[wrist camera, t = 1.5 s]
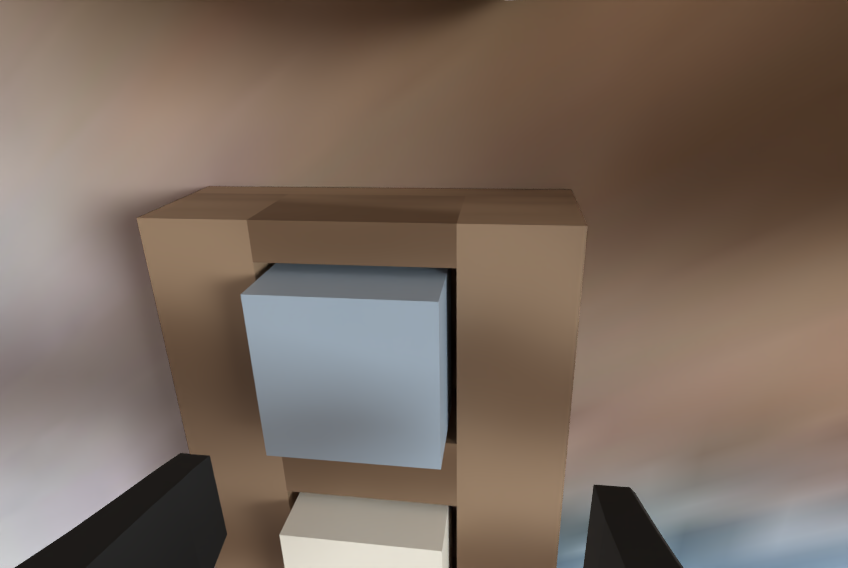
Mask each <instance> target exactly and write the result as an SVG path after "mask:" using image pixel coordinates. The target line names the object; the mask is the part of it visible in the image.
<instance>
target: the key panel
mask: <svg viewBox="0 0 848 568" xmlns="http://www.w3.org/2000/svg"><path fill="white" fill-rule="evenodd" d="M137 223H138V227H139V232H140V236H141V240H142V245H143V249H144V254H145V258H146V263H147V267H148V271H149V276H150V280H151V285H152V289H153V293H154V298H155V302H156V307H157V311H158V316H159V320H160V324H161V329H162V333H163V338H164V342H165V347H166V351H167V355H168V360H169V364H170V369H171V373H172V377H173V382H174V386H175V391H176V395H177V400H178V404H179V408H180V413H181V417H182V422H183V426H184V430H185V435H186V439H187V444H188V448H189V453H190V454H197V455H210V458H211V463H212V467H213V472H214V476H215V481H216V485H217V490H218V495H219V499H220V504H221V508H222V513H223V517H224V522H225V526H226V531H227V536H226V539H225V541H224V544H223V546H222V549H221V552H220V554H219V557H218V559H217V562H216V564H215V568H285V567H284V560H283V554H282V548H281V542H280V536H279V535H280V532H281V530H282V528H283V526H284V524H285V522H286V520H287V518H288V516H289V514H290V512H291V510H292V508H293V506H294V503H295V501H296V499H297V497H298V495H299V493H300V492H304V493H315V494H326V495H337V496H348V497H360V498H371V499H382V500H393V501H404V502H415V503H426V504H437V505H449V506H452V568H556V565H557V554H558V543H559V532H560V521H561V510H562V499H563V488H564V477H565V467H566V456H567V445H568V434H569V423H570V412H571V401H572V390H573V379H574V368H575V358H576V347H577V336H578V325H579V314H580V303H581V292H582V281H583V270H584V259H585V248H586V238H587V227H588V226H587V224H586V221H585V219H584V217H583V215H582V213H581V210H580V208H579V206H578V204H577V201H576V199H575V197H574V195H573V192H572V190H566V189H451V188H337V187H223V186H209V187H206V188H204V189H202V190H200V191H197V192H195V193H193V194H190V195H188V196H186V197H184V198H181V199H179V200H177V201H174V202H172V203H170V204H167V205H165V206H163V207H161V208H158V209H156V210H154V211H151V212H149V213H147V214H145V215H142V216H140V217H138V218H137ZM275 263H292V264H326V265H360V266H395V267H429V268H451V382H452V406H451V412H450V418H449V424H448V430H447V436H446V442H445V448H444V454H443V460H442V466H441V470H440V469H428V468H415V467H403V466H391V465H378V464H366V463H353V462H341V461H329V460H316V459H304V458H291V457H279V456H267V455H266V449H265V443H264V437H263V431H262V424H261V418H260V412H259V406H258V400H257V393H256V387H255V381H254V375H253V369H252V363H251V356H250V350H249V344H248V338H247V332H246V325H245V319H244V313H243V307H242V301H241V295H240V294H242V293H243V292H244V291H245V290H246V289H247V288H248V287H249V286H251V285H252V284H253V283H254V282H255V281H256V280H257V279H258V278H260V277H261V276H262V275H263V274H264V273H265V272H266V271H267V270H269V269H270V268H271V267H272V266H273V265H274V264H275Z"/></svg>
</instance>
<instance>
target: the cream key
mask: <svg viewBox="0 0 848 568" xmlns="http://www.w3.org/2000/svg"><path fill="white" fill-rule="evenodd" d="M279 536H280V542H281V548H282V554H283V560H284V567H285V568H452V506H449V505H437V504H426V503H415V502H404V501H393V500H382V499H371V498H360V497H348V496H337V495H326V494H315V493H304V492H300V493H299V495H298V497H297V499H296V501H295V503H294V506H293V508H292V510H291V512H290V514H289V516H288V518H287V520H286V522H285V524H284V526H283V528H282V530H281V532H280V535H279Z"/></svg>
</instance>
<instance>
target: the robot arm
mask: <svg viewBox="0 0 848 568" xmlns="http://www.w3.org/2000/svg"><path fill="white" fill-rule="evenodd" d="M226 536H227V531H226V526H225V522H224V517H223V513H222V508H221V504H220V499H219V495H218V490H217V485H216V481H215V476H214V472H213V467H212V463H211V458H210V455H197V454H184V453H180V454H179V455H177V456H176V457H174V458H173V459H171V460H170V461H168V462H167V463H165V464H164V465H162V466H161V467H159V468H158V469H157V470H155V471H154V472H152V473H151V474H149V475H148V476H147V477H145V478H144V479H142V480H141V481H140V482H138V483H137V484H136V485H134V486H133V487H131V488H130V489H129V490H127V491H126V492H124V493H123V494H122V495H120V496H119V497H117V498H116V499H115V500H113V501H112V502H110V503H109V504H108V505H106V506H105V507H103V508H102V509H100V510H99V511H98V512H96V513H95V514H93V515H92V516H91V517H89V518H88V519H86V520H85V521H83V522H82V523H81V524H79V525H78V526H76V527H75V528H74V529H72V530H71V531H69V532H68V533H66V534H65V535H63V536H62V537H60V538H59V539H57V540H56V541H54V542H53V543H51V544H50V545H48V546H47V547H45V548H44V549H42V550H41V551H39V552H38V553H36V554H35V555H33V556H32V557H30V558H29V559H27V560H26V561H24V562H23V563H21V564H19V565H18V566H16V567H15V568H214V567H215V564H216V562H217V559H218V557H219V554H220V552H221V549H222V546H223V544H224V541H225V539H226ZM583 568H683V566H682V565H681V564H680V562H679V561H678V559H677V558H676V556H675V555H674V553H673V552H672V550H671V549H670V547H669V546H668V544H667V543H666V541H665V540H664V538H663V537H662V535H661V534H660V532H659V531H658V529H657V527H656V526H655V524H654V523H653V521H652V520H651V518H650V516H649V515H648V513H647V512H646V510H645V508H644V507H643V505H642V503H641V502H640V500H639V498H638V497H637V495H636V493H635V492H634V491H633V490H632V489H631V488H630V487H617V486H604V485H594V487H593V495H592V503H591V511H590V519H589V527H588V535H587V543H586V551H585V559H584V567H583Z"/></svg>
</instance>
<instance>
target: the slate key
mask: <svg viewBox="0 0 848 568" xmlns="http://www.w3.org/2000/svg"><path fill="white" fill-rule="evenodd" d="M240 295H241V301H242V307H243V313H244V319H245V325H246V332H247V338H248V344H249V350H250V356H251V363H252V369H253V375H254V381H255V387H256V393H257V400H258V406H259V412H260V418H261V424H262V431H263V437H264V443H265V449H266V455H267V456H279V457H291V458H304V459H316V460H329V461H341V462H353V463H366V464H378V465H391V466H403V467H415V468H428V469H440V470H441V466H442V460H443V454H444V448H445V442H446V436H447V430H448V424H449V418H450V412H451V406H452V382H451V268H429V267H395V266H360V265H326V264H292V263H275V264H274V265H273V266H272V267H271V268H270V269H269V270H267V271H266V272H265V273H264V274H263V275H262V276H261V277H260V278H258V279H257V280H256V281H255V282H254V283H253V284H252V285H251V286H249V287H248V288H247V289H246V290H245V291H244V292H243V293H242V294H240Z"/></svg>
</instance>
